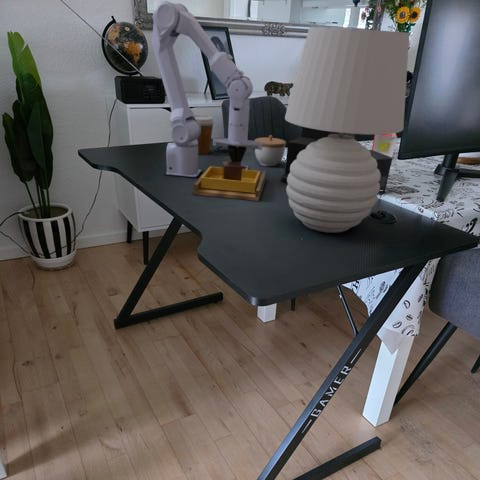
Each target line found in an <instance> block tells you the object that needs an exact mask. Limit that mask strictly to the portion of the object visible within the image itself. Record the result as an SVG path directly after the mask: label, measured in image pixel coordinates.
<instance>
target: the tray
mask: <svg viewBox="0 0 480 480" xmlns="http://www.w3.org/2000/svg"><path fill="white" fill-rule="evenodd" d="M209 166H210V167H209ZM209 166H208V167H209V168H208V167H207V168H208V170H207V171H206V172H205V171H204V172H205V173H204V172H203V173H204V175H203V176H202V177H201V176H200V177H201V188H209V189H219V190H229V191H239V192H249V193H255V191H256V189H257V186H258V183H259V181H260V176H261V170H256V169H255V170H254V169H250V166H249V165H243V164H241V166H242V177H241V181H236V180H226V179H222V168H223V166H222V167H221V166H213V165H209Z"/></svg>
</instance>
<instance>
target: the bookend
mask: <svg viewBox="0 0 480 480" xmlns="http://www.w3.org/2000/svg"><path fill="white" fill-rule="evenodd" d="M330 134H339V132H330V131H323V130H317V129H311V128H307V127H302V126H301V133H300V136H299V137H296V138H294V139H291V140H289V141H288V142H287V149H286V157H285V169H284V173H283V174H282V176H281V178H280V179H281V180H280V181H281V182H285V183H287V177H288V174H289V173H290V166H291V164H292V162H293V161H294V160H296V159H297V155H298V154H299V152H300V151H302V150H304V149H306V147H307V146H308V145H309V144H310V143H312V142H316V141H318V140H319V139H321V138H325V137H328V135H330ZM343 135H346V133H343Z"/></svg>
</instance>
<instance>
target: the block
mask: <svg viewBox="0 0 480 480" xmlns="http://www.w3.org/2000/svg"><path fill="white" fill-rule="evenodd" d="M241 163H242V162H241ZM241 163H240V162H231V161H222V167H223V168H222V179H226V180H236V181H241V177H242V166H241V165H242V164H241Z"/></svg>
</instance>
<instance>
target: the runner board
mask: <svg viewBox="0 0 480 480" xmlns="http://www.w3.org/2000/svg"><path fill="white" fill-rule="evenodd" d="M210 166H211V165H209V166H208V167H207V168H206V169H205V170H204V172H202V174H201V175H200V176H199V177H198V178H197V180H196V181H195V182H194V183H193V195H194V196H195V195H196V196H205V197H214V198H225V199H235V200H245V201H254V202H255V201H256V202H258V201H260V198H261V195H262V192H263V189H264V186H265V184H266V180H267V170H263V171H262V173H261V175H260V181H259V183H258V186H257V189H256V191H255V193H249V192H239V191H229V190H219V189H209V188H201V177H202V176H203V175H204V173H205V172H206V171H207V170H208V168H209V167H210Z"/></svg>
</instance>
